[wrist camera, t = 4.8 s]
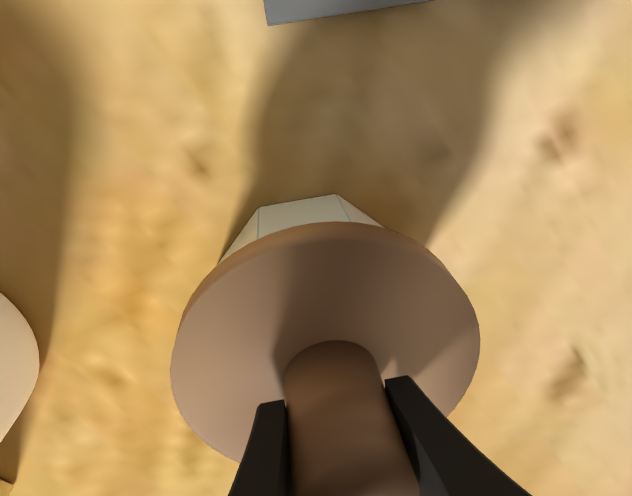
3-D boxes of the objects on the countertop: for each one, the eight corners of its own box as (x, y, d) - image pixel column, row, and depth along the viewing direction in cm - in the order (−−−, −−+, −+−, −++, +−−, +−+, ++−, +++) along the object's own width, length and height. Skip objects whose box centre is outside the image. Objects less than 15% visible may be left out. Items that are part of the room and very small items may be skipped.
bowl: (390, 184, 16) (421, 215, 13) (401, 336, 19) (428, 392, 16) (202, 216, 16) (187, 257, 13) (243, 366, 19) (239, 429, 16)
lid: (478, 201, 11) (605, 307, 7) (453, 424, 15) (523, 570, 11) (138, 245, 10) (67, 387, 6) (210, 465, 14) (193, 633, 10)
